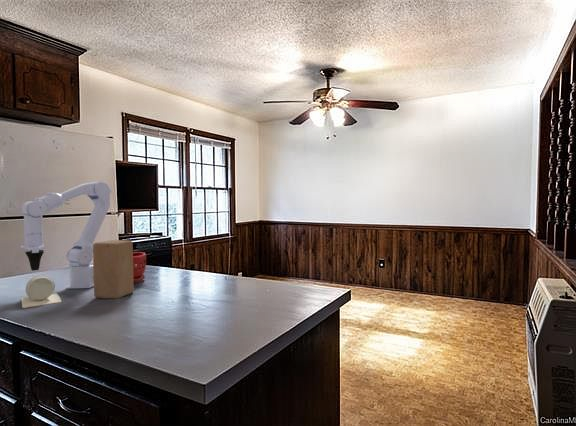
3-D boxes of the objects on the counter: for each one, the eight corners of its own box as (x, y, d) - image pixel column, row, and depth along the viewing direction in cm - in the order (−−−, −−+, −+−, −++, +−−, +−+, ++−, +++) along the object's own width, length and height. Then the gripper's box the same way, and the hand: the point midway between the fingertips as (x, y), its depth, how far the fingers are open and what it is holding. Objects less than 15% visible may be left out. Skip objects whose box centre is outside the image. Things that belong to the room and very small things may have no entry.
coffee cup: (56, 283, 141) (61, 287, 131) (37, 301, 137) (40, 306, 127) (38, 268, 137) (42, 270, 128) (17, 285, 133) (19, 289, 124)
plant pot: (113, 280, 162) (113, 253, 162) (145, 277, 168) (144, 251, 167) (113, 286, 150) (112, 257, 150) (147, 283, 156) (147, 255, 155)
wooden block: (117, 299, 130) (116, 243, 129) (93, 298, 132) (91, 242, 131) (134, 292, 140) (133, 240, 139) (111, 291, 142) (110, 239, 141)
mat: (21, 299, 132) (21, 298, 132) (57, 294, 138) (57, 293, 138) (22, 308, 121) (22, 307, 121) (61, 302, 127) (61, 301, 127)
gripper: (19, 232, 139) (21, 268, 140) (21, 235, 128) (22, 274, 128) (42, 231, 144) (43, 266, 144) (45, 234, 132) (46, 272, 133)
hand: (35, 270), depth 137 cm, fingers closed
